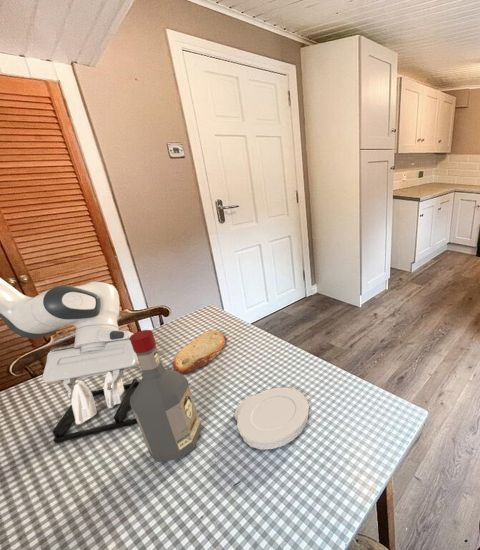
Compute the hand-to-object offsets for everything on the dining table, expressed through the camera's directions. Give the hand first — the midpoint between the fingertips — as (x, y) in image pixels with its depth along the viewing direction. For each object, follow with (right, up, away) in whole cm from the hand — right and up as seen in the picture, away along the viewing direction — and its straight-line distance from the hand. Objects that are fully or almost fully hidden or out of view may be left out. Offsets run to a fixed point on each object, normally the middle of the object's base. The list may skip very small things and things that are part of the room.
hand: (93, 393), depth 77 cm
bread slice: (+13, +4, +26) cm, 29 cm away
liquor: (+26, -9, -6) cm, 28 cm away
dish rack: (+3, -5, +4) cm, 7 cm away
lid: (+45, -7, 0) cm, 46 cm away
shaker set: (0, -6, +3) cm, 7 cm away
